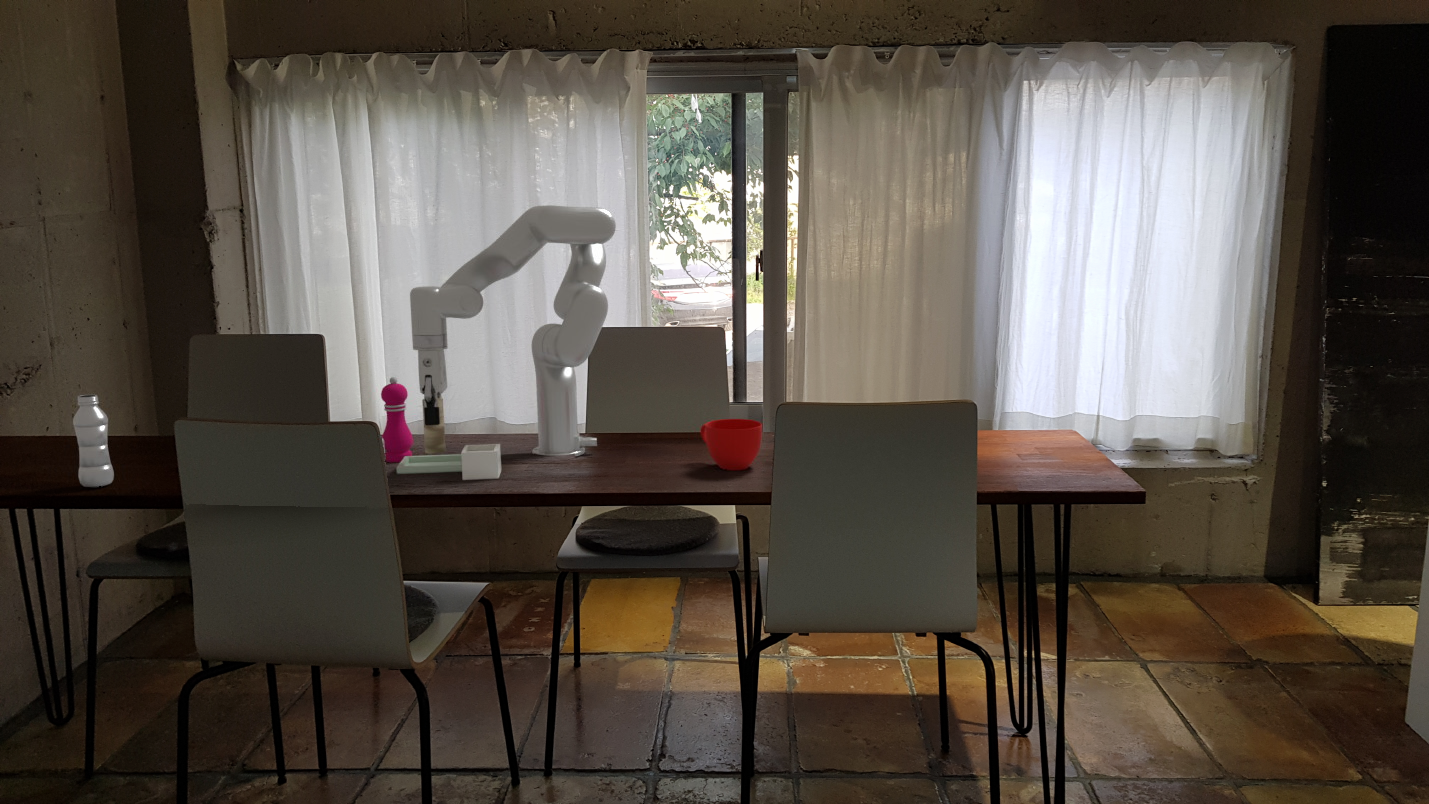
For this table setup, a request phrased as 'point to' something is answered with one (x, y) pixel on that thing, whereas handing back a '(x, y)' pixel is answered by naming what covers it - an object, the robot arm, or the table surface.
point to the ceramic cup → (733, 442)
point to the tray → (430, 464)
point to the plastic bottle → (92, 443)
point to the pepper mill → (396, 422)
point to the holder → (481, 461)
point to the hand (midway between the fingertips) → (434, 421)
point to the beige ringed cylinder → (435, 433)
